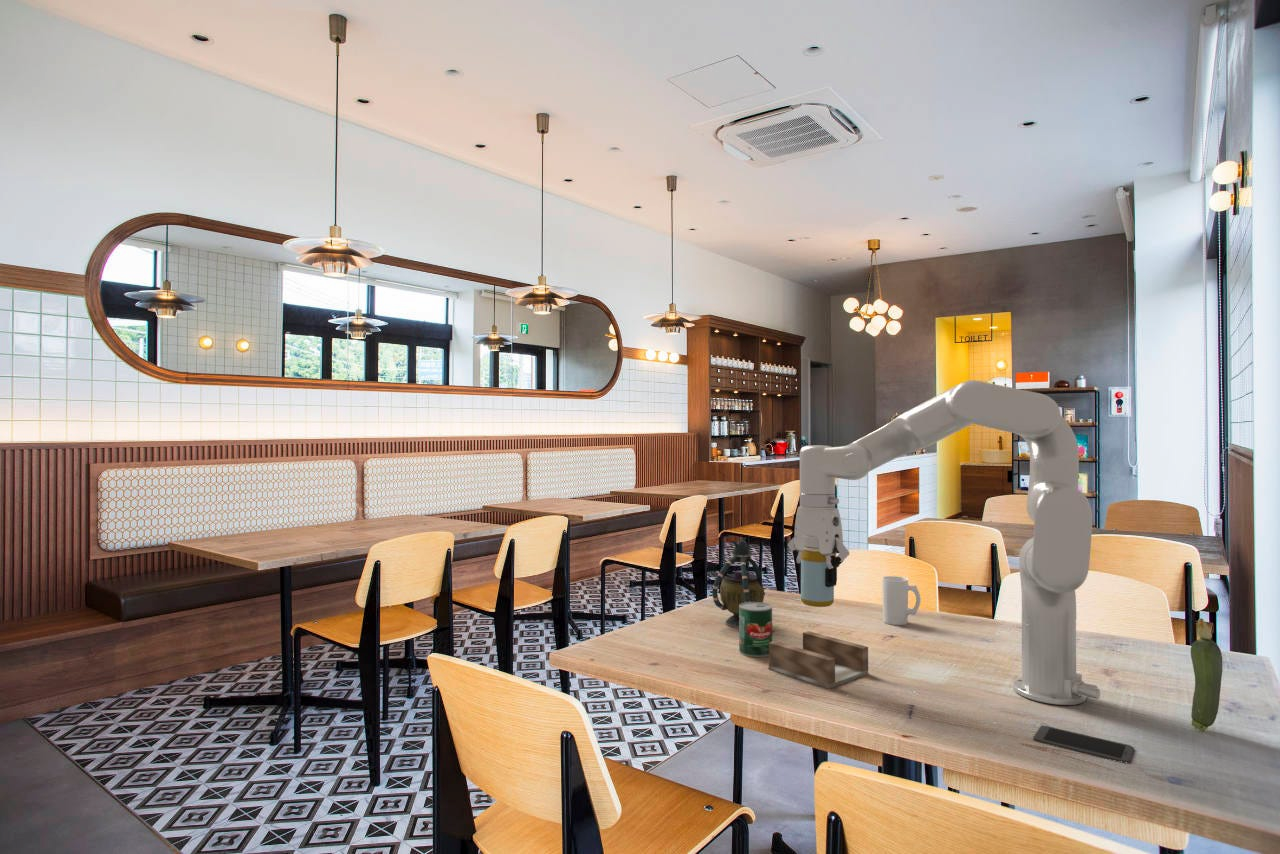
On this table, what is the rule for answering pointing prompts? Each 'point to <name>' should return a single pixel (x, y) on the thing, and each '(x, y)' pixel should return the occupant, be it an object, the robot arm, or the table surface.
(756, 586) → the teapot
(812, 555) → the bottle
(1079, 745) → the cell phone
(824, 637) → the u rest
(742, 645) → the canned tomato
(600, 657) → the table surface
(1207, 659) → the vegetable
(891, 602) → the mug
